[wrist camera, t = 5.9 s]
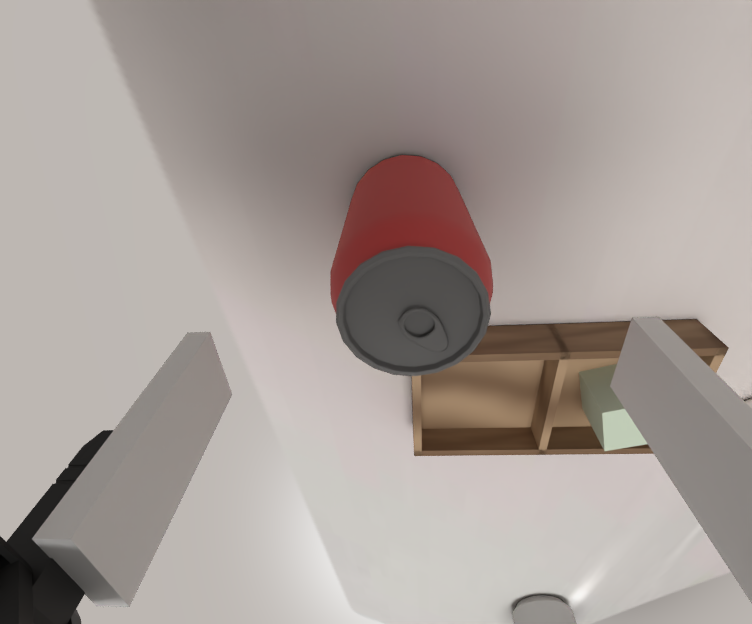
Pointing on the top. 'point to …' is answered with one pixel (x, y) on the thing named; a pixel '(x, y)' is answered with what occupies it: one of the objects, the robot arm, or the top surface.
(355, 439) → the top surface
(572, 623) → the can
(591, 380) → the sage block
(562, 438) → the tray
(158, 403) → the robot arm
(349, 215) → the beer can
